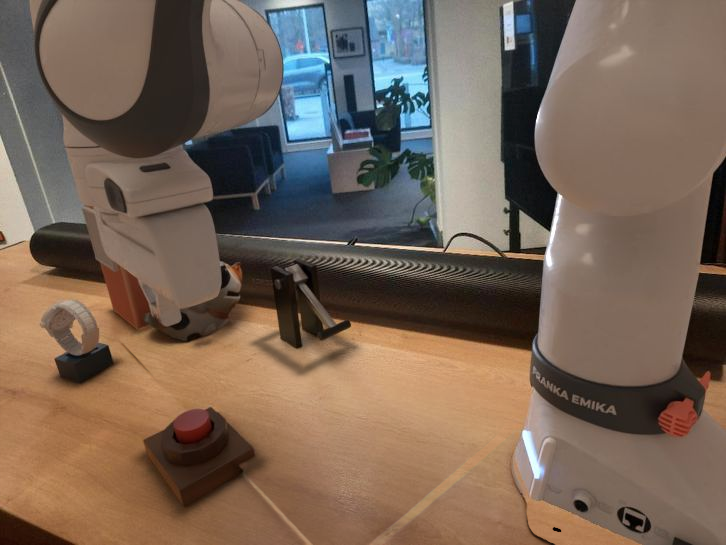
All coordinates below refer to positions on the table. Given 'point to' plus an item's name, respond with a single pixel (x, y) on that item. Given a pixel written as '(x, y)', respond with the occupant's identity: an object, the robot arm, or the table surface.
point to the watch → (76, 341)
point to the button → (192, 426)
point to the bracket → (295, 303)
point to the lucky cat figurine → (206, 309)
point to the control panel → (118, 279)
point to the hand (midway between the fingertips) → (167, 320)
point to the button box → (198, 458)
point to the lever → (316, 305)
